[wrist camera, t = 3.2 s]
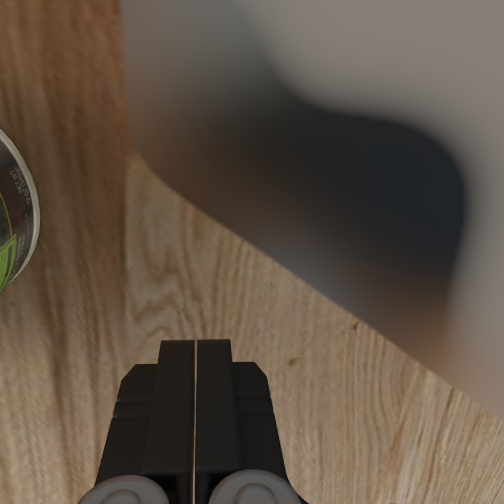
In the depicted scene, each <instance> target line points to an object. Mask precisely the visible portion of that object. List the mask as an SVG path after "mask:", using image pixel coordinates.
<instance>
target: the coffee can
mask: <svg viewBox="0 0 504 504" xmlns="http://www.w3.org/2000/svg"><path fill="white" fill-rule="evenodd" d="M39 228H40V205H39V199H38V193H37V190H36V186H35V182H34V180H33V177H32V174H31V172H30V170H29V168H28V166H27V164H26V162H25V161H24V159H23V157H22V155H21V154H20V152H19V151H18V149H17V148H16V147H15V145H14V144H13V142H12V141H11V140H10V139H9V138H8V136H7V135H6V134H5V133H4V132H3V131H2V130H1V129H0V292H1V291H2V290H3V289H4V288H5V287H6V286H7V285H8V284H9V283H10V282H11V281H13V280H14V279H15V278H16V277H17V276H18V275H19V273H20V272H21V271H22V270H23V269H24V267H25V266H26V265H27V263H28V262H29V260H30V258H31V256H32V254H33V251H34V249H35V246H36V243H37V239H38V235H39Z"/></svg>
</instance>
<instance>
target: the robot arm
mask: <svg viewBox="0 0 504 504" xmlns="http://www.w3.org/2000/svg"><path fill="white" fill-rule="evenodd" d="M194 425H195V340H162V341H161V344H160V351H159V358H158V364H135V366H134V367H133V368H132V369H131V370H130V371H129V372H128V374H127V375H126V376H125V377H124V378H123V379H122V380H121V384H120V388H119V392H118V396H117V403H116V404H115V408H114V412H113V419H112V420H111V424H110V427H109V431H108V435H107V439H106V443H105V447H104V451H103V455H102V459H101V463H100V467H99V471H98V474H97V478H96V482H95V485H94V487H93V488H92V489H90V490H89V491H88V492H87V493H86V494H85V495H84V496H83V497H82V498H81V499H80V500H79V502H78V503H77V504H193V467H194ZM195 504H309V503H307V502H306V501H305V500H304V499H302V498H301V497H300V496H299V495H298V494H297V493H296V491H295V490H294V489H293V487H292V486H291V484H290V482H289V480H288V477H287V474H286V470H285V465H284V460H283V455H282V450H281V445H280V440H279V435H278V430H277V425H276V420H275V415H274V413H273V405H272V400H271V398H270V390H269V385H268V380H267V376H266V375H265V374H264V373H263V372H262V370H261V369H260V368H259V367H258V366H257V364H256V363H255V362H232V353H231V343H230V339H212V340H197V386H196V435H195Z"/></svg>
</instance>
